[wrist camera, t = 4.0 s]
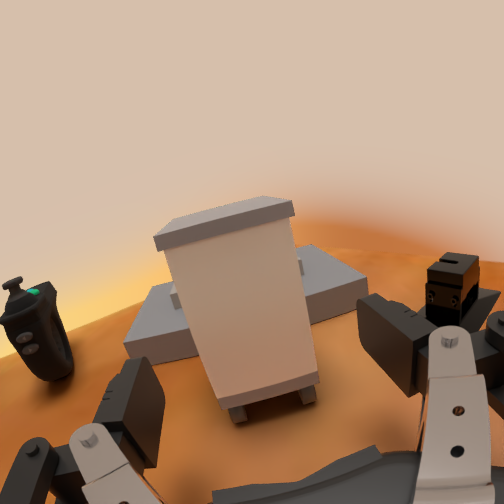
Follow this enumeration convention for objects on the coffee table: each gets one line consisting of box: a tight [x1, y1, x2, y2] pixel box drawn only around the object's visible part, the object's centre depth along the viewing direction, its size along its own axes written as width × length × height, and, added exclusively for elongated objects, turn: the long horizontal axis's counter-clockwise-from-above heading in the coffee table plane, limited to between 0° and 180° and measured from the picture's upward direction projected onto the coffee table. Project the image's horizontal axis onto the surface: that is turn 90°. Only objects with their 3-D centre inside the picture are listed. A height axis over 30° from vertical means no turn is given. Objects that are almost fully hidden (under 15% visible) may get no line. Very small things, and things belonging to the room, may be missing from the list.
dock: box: [123, 244, 369, 365], centre depth 29 cm, size 20×14×5 cm
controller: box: [0, 276, 73, 381], centre depth 22 cm, size 4×12×10 cm, turn 32°
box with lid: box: [153, 196, 320, 423], centre depth 15 cm, size 5×6×11 cm
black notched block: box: [417, 252, 501, 334], centre depth 17 cm, size 12×7×5 cm, turn 119°
